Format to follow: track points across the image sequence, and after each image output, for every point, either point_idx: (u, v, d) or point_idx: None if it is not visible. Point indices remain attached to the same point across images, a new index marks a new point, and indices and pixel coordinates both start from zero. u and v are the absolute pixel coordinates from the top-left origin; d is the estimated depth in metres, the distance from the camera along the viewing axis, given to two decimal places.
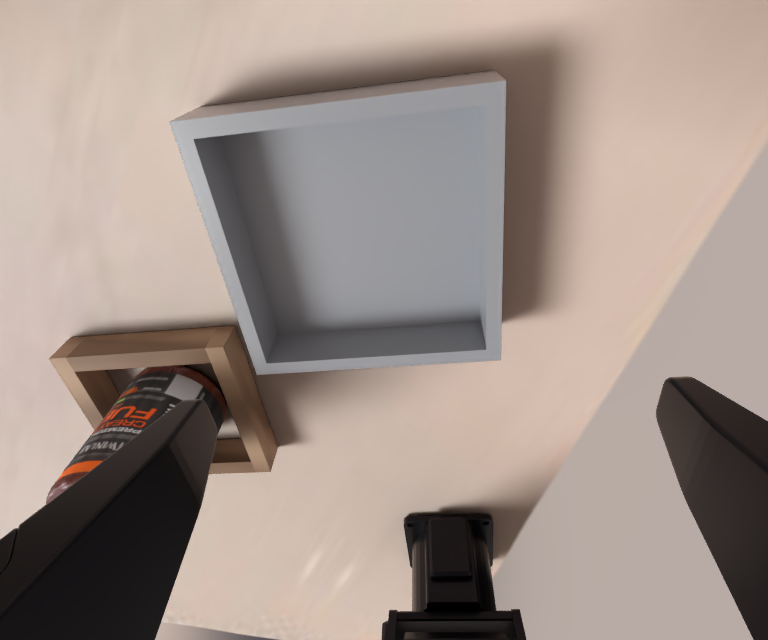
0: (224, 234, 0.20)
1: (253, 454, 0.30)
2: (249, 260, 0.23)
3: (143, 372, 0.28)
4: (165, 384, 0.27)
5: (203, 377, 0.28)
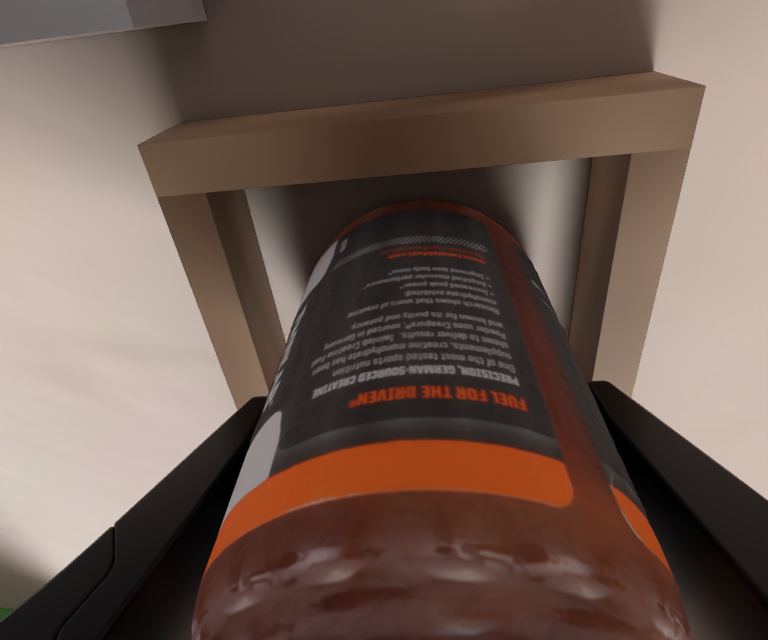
0: None
1: (595, 137, 0.08)
2: None
3: None
4: None
5: (337, 235, 0.11)
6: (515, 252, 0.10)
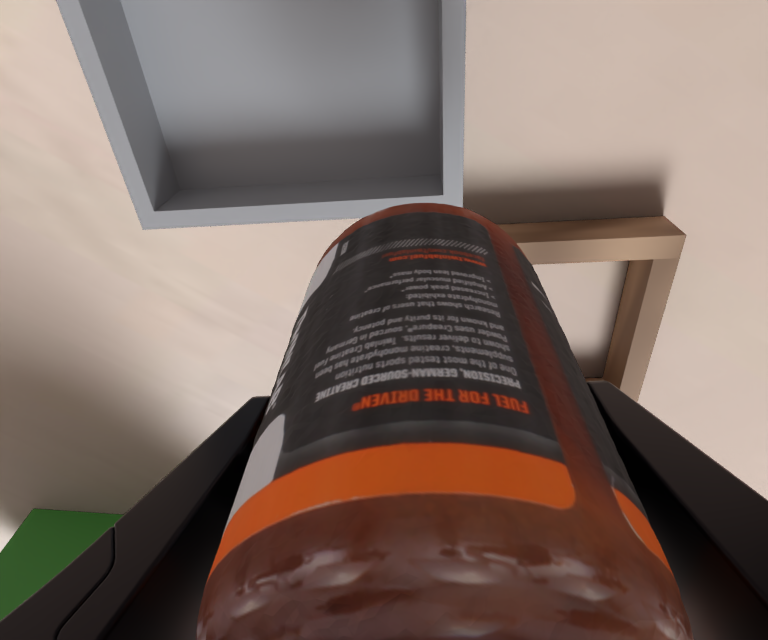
0: (254, 206, 0.18)
1: (638, 252, 0.19)
2: (316, 187, 0.19)
3: None
4: None
5: (338, 237, 0.11)
6: (515, 254, 0.10)
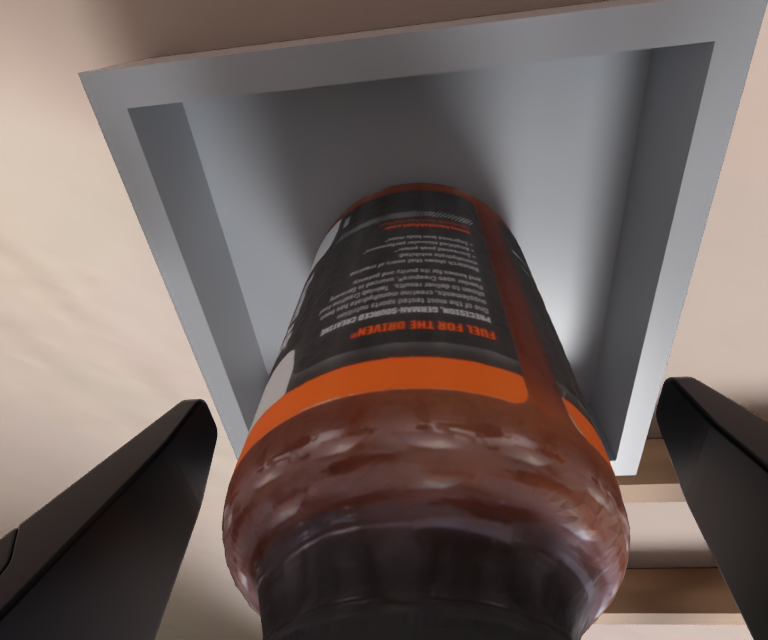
0: None
1: None
2: None
3: None
4: None
5: (341, 215, 0.13)
6: (499, 227, 0.11)
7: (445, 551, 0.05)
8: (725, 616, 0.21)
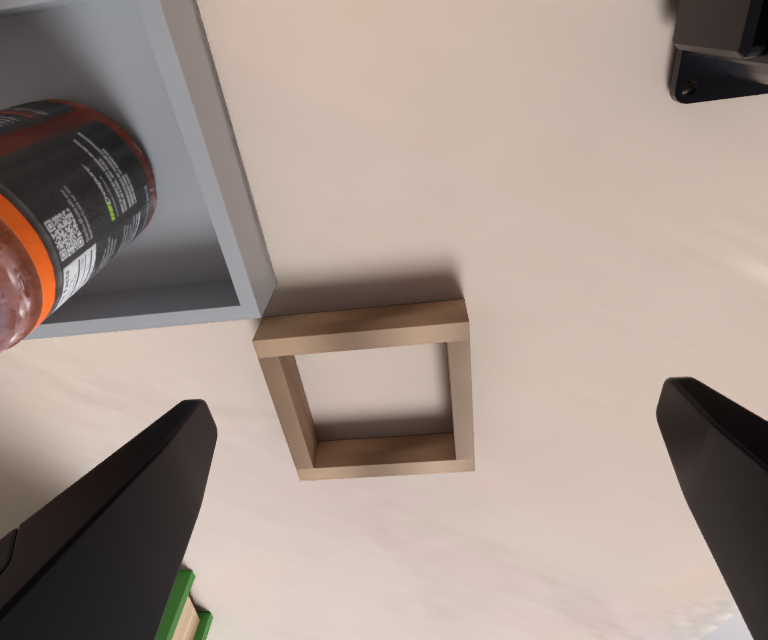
0: (84, 320, 0.21)
1: (432, 337, 0.22)
2: (147, 295, 0.22)
3: None
4: None
5: None
6: (88, 123, 0.17)
7: None
8: (424, 465, 0.26)
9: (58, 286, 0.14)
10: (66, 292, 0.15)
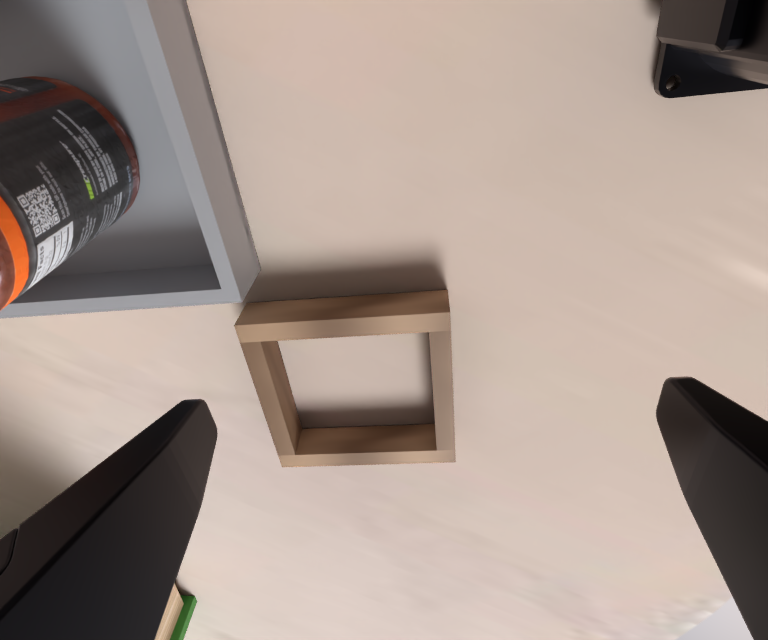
0: (66, 299, 0.21)
1: (413, 326, 0.22)
2: (130, 277, 0.22)
3: None
4: None
5: None
6: (69, 100, 0.17)
7: None
8: (405, 455, 0.27)
9: (32, 262, 0.14)
10: (41, 268, 0.15)
